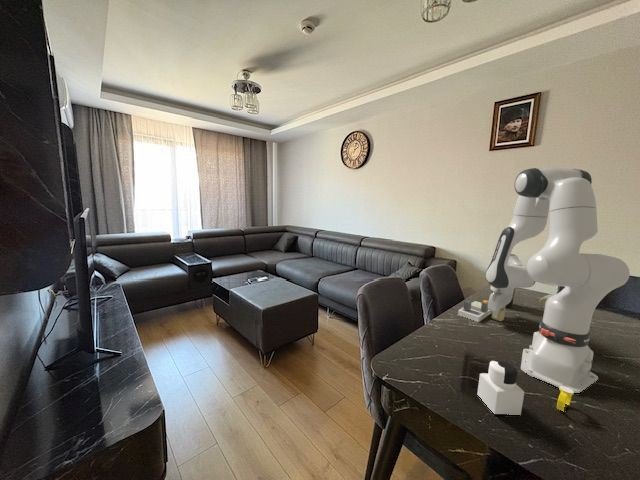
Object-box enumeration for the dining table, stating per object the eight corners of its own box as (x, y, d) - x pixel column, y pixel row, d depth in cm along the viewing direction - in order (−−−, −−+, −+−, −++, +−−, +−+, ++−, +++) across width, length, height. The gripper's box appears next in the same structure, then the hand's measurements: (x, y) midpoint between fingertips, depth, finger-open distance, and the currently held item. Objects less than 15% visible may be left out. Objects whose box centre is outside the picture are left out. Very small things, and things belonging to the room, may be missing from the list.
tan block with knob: (501, 321, 118) (502, 310, 117) (491, 318, 121) (492, 307, 120) (504, 319, 120) (505, 308, 119) (494, 316, 123) (495, 305, 122)
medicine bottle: (500, 395, 72) (506, 356, 70) (521, 416, 65) (528, 374, 63) (476, 395, 72) (481, 356, 70) (494, 416, 65) (500, 374, 63)
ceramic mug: (536, 308, 134) (539, 294, 132) (544, 305, 137) (546, 292, 136) (562, 316, 124) (565, 302, 123) (569, 313, 128) (572, 299, 127)
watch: (559, 402, 70) (563, 382, 70) (572, 409, 68) (577, 388, 67) (551, 409, 67) (556, 389, 67) (565, 417, 65) (570, 396, 64)
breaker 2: (485, 312, 120) (486, 302, 119) (480, 310, 122) (482, 301, 121) (487, 310, 122) (489, 301, 121) (483, 309, 124) (484, 299, 123)
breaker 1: (467, 310, 121) (468, 302, 120) (463, 309, 123) (464, 301, 122) (470, 309, 123) (471, 301, 122) (466, 307, 125) (467, 300, 124)
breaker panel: (478, 322, 116) (478, 316, 116) (457, 315, 123) (458, 309, 123) (494, 311, 128) (494, 306, 128) (474, 305, 135) (475, 300, 135)
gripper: (502, 294, 109) (497, 324, 111) (517, 285, 122) (513, 312, 124) (485, 289, 114) (482, 318, 116) (501, 281, 126) (498, 307, 129)
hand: (498, 315), depth 120 cm, fingers open, 6 cm apart
